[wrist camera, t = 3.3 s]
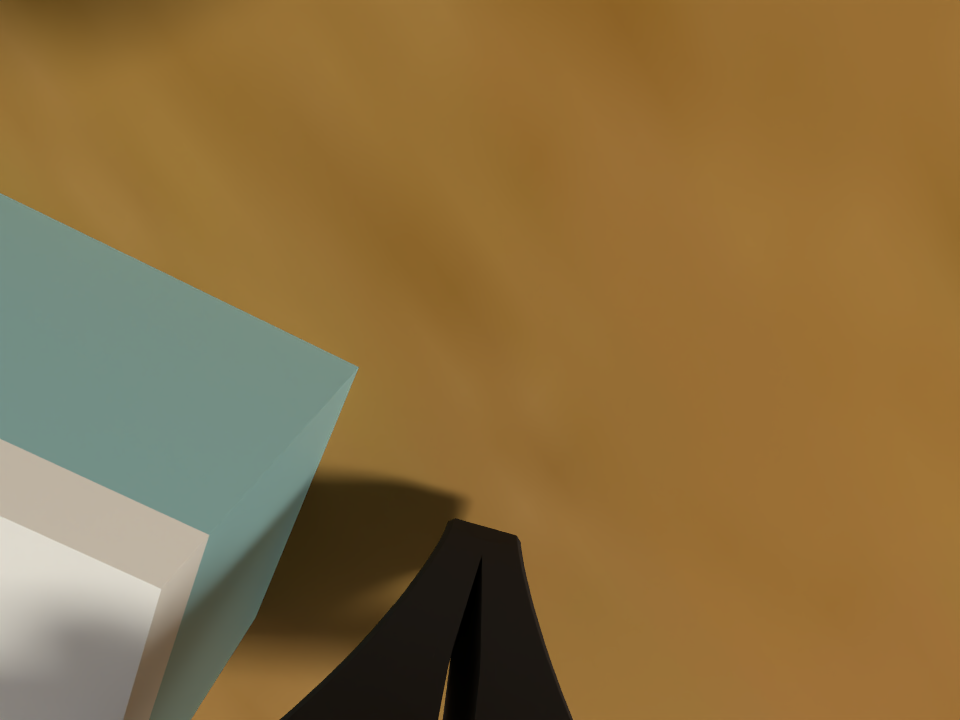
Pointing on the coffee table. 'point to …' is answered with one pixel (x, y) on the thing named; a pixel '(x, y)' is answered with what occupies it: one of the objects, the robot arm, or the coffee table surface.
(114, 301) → the carton
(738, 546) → the coffee table surface
